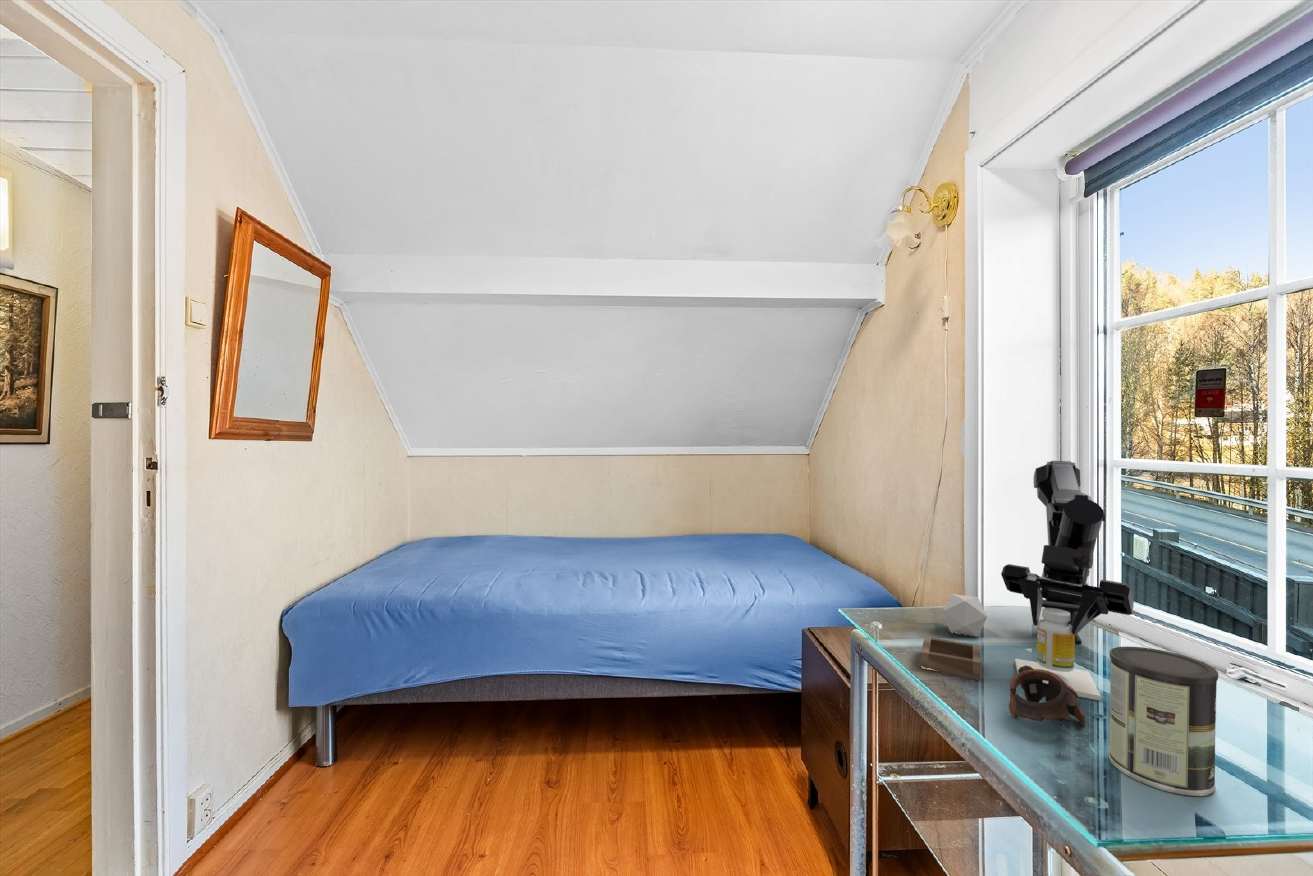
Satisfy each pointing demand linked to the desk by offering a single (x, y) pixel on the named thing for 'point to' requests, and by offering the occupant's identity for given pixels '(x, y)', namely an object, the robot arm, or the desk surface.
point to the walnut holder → (951, 657)
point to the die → (964, 615)
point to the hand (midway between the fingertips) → (1053, 628)
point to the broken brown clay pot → (1056, 693)
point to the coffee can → (1163, 719)
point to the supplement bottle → (1055, 641)
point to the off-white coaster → (1069, 679)
